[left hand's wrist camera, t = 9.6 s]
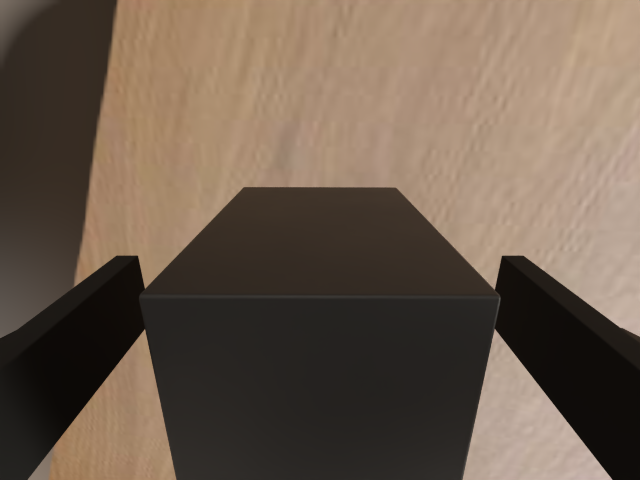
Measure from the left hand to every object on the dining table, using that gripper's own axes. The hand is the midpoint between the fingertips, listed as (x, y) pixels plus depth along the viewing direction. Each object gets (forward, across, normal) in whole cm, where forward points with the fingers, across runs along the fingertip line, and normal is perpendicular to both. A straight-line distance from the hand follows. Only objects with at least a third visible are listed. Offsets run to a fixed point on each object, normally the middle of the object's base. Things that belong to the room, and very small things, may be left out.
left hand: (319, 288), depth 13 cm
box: (+2, 0, -8) cm, 8 cm away
